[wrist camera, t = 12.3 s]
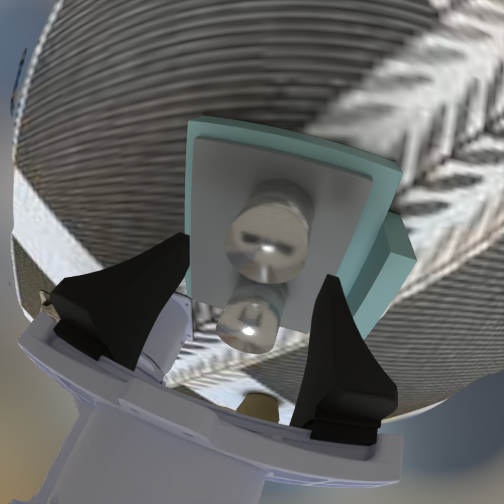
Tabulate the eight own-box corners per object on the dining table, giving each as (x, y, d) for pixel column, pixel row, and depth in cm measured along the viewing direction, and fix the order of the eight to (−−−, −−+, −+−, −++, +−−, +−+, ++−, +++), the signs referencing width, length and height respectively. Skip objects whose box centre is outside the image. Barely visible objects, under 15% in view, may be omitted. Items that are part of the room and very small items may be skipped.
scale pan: (308, 327, 26) (307, 333, 25) (194, 293, 27) (191, 298, 27) (371, 177, 16) (373, 181, 15) (198, 135, 17) (193, 138, 17)
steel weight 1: (306, 243, 19) (296, 291, 16) (246, 229, 20) (222, 272, 16) (320, 187, 17) (315, 226, 13) (252, 172, 17) (226, 205, 13)
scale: (345, 324, 28) (342, 370, 23) (195, 281, 30) (172, 320, 25) (421, 173, 17) (449, 208, 12) (202, 115, 19) (160, 131, 14)
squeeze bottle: (247, 385, 43) (215, 478, 29) (290, 399, 43) (265, 490, 29) (237, 398, 48) (208, 477, 34) (275, 410, 48) (251, 489, 34)
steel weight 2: (275, 314, 25) (260, 359, 21) (231, 293, 25) (210, 337, 21) (297, 286, 22) (284, 337, 18) (247, 262, 22) (224, 309, 18)
